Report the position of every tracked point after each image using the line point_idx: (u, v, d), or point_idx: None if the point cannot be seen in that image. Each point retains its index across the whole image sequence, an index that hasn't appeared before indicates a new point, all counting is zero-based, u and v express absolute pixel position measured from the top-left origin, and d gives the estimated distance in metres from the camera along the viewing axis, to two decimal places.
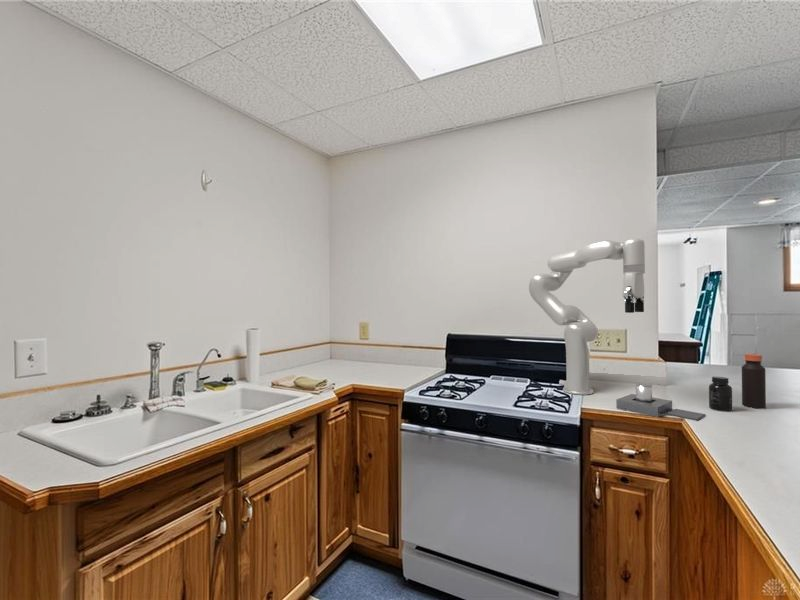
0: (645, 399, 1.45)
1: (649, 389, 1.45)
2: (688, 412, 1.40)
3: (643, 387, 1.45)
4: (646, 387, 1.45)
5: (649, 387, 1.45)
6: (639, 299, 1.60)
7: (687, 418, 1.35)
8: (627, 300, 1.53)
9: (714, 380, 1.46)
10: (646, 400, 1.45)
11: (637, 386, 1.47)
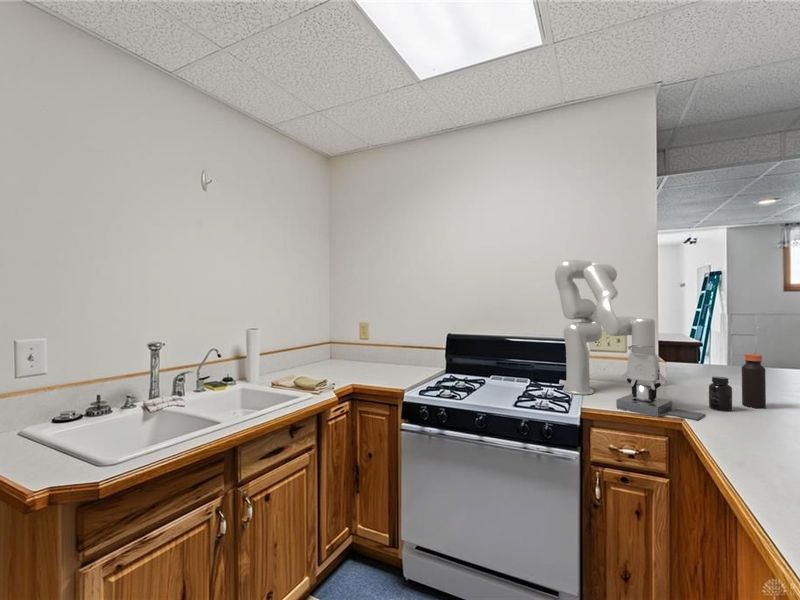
0: (645, 399, 1.45)
1: (649, 389, 1.45)
2: (688, 412, 1.40)
3: (643, 387, 1.45)
4: (646, 387, 1.45)
5: (649, 387, 1.45)
6: None
7: (687, 418, 1.35)
8: (657, 387, 1.43)
9: (714, 380, 1.46)
10: (646, 400, 1.45)
11: (637, 386, 1.47)
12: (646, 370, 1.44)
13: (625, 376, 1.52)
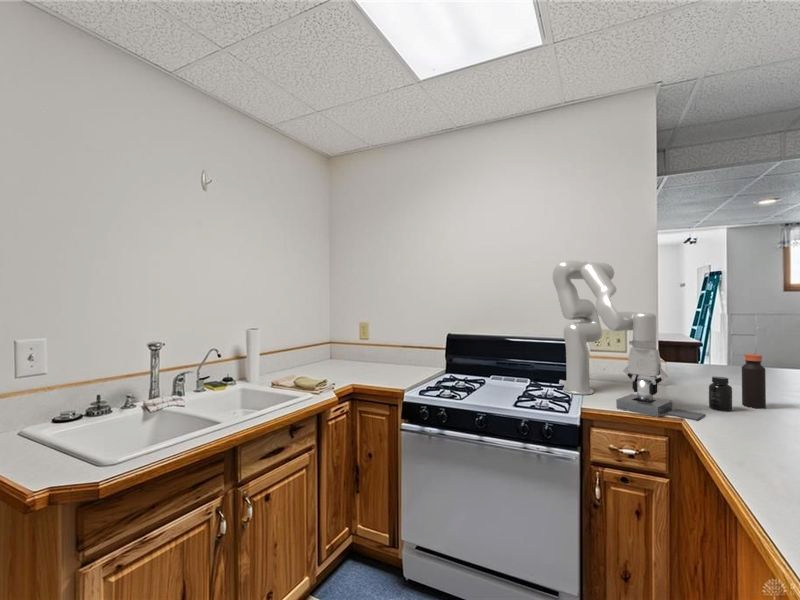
0: (646, 393, 1.44)
1: (650, 384, 1.44)
2: (688, 412, 1.40)
3: (644, 382, 1.45)
4: (647, 382, 1.44)
5: (650, 382, 1.44)
6: None
7: (687, 418, 1.35)
8: (658, 382, 1.43)
9: (714, 380, 1.46)
10: (647, 395, 1.44)
11: (638, 381, 1.47)
12: (647, 365, 1.44)
13: (626, 371, 1.51)
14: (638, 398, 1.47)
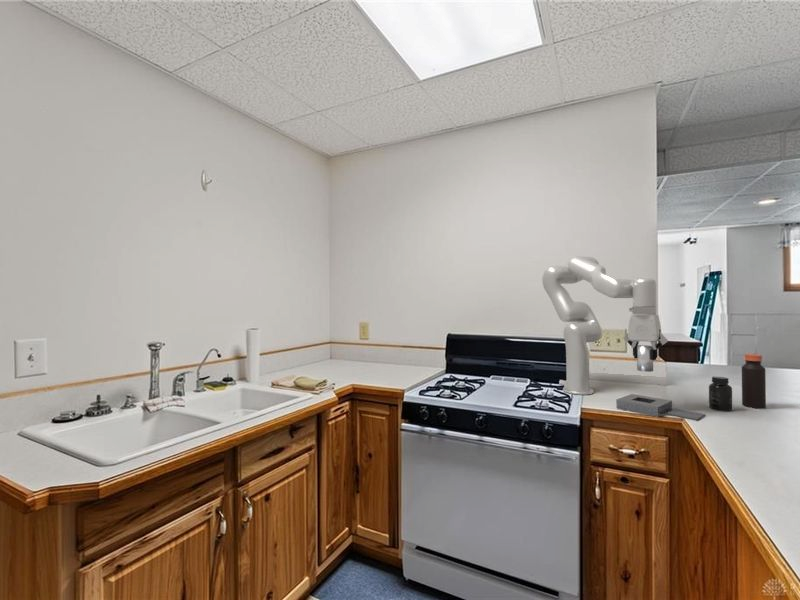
0: (646, 359, 1.44)
1: (650, 349, 1.44)
2: (688, 412, 1.40)
3: (644, 347, 1.45)
4: (647, 347, 1.44)
5: (650, 347, 1.44)
6: None
7: (687, 418, 1.35)
8: (658, 347, 1.43)
9: (714, 380, 1.46)
10: (647, 361, 1.44)
11: (638, 347, 1.47)
12: (647, 330, 1.44)
13: (626, 338, 1.51)
14: (638, 364, 1.47)
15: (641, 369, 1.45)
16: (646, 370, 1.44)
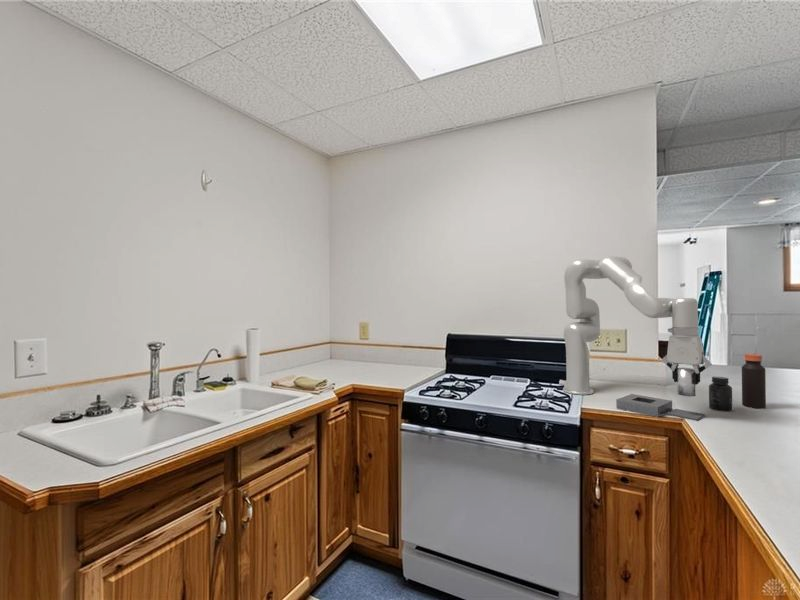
0: (688, 383, 1.36)
1: (692, 373, 1.36)
2: (688, 412, 1.40)
3: (686, 371, 1.37)
4: (689, 371, 1.36)
5: (693, 370, 1.36)
6: None
7: (687, 418, 1.35)
8: (701, 371, 1.35)
9: (714, 380, 1.46)
10: (689, 385, 1.36)
11: (679, 370, 1.39)
12: (689, 353, 1.36)
13: (665, 360, 1.44)
14: (679, 388, 1.39)
15: (682, 394, 1.37)
16: (688, 395, 1.36)
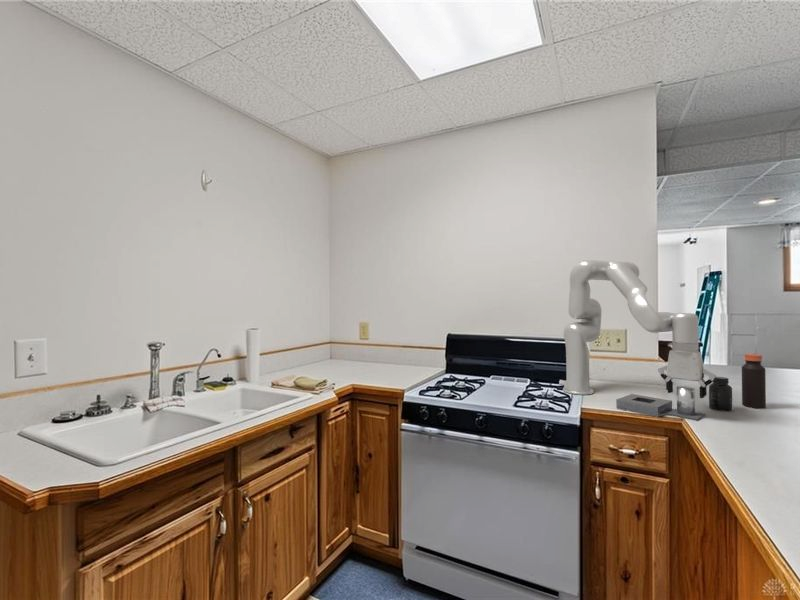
0: (688, 402, 1.37)
1: (692, 392, 1.36)
2: None
3: (685, 390, 1.37)
4: (689, 390, 1.36)
5: (692, 390, 1.36)
6: None
7: (687, 418, 1.35)
8: (708, 384, 1.34)
9: (714, 380, 1.46)
10: (689, 404, 1.36)
11: (678, 389, 1.39)
12: (689, 368, 1.36)
13: (660, 371, 1.45)
14: (679, 407, 1.39)
15: (682, 413, 1.38)
16: (687, 414, 1.37)
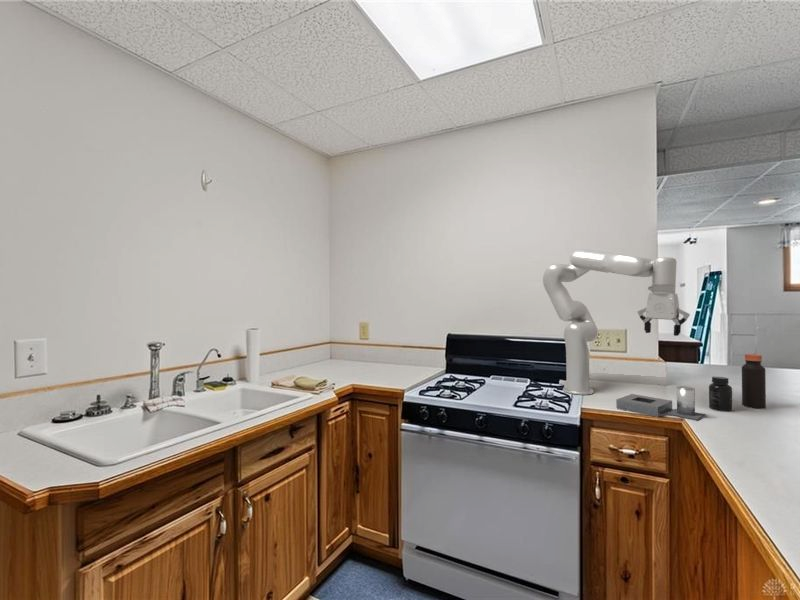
0: (688, 402, 1.37)
1: (692, 392, 1.36)
2: None
3: (685, 390, 1.37)
4: (689, 390, 1.37)
5: (692, 390, 1.37)
6: None
7: (687, 418, 1.35)
8: (682, 323, 1.44)
9: (714, 380, 1.46)
10: (689, 404, 1.36)
11: (679, 389, 1.39)
12: (665, 308, 1.46)
13: (640, 313, 1.55)
14: (679, 407, 1.39)
15: (682, 413, 1.38)
16: (687, 414, 1.37)
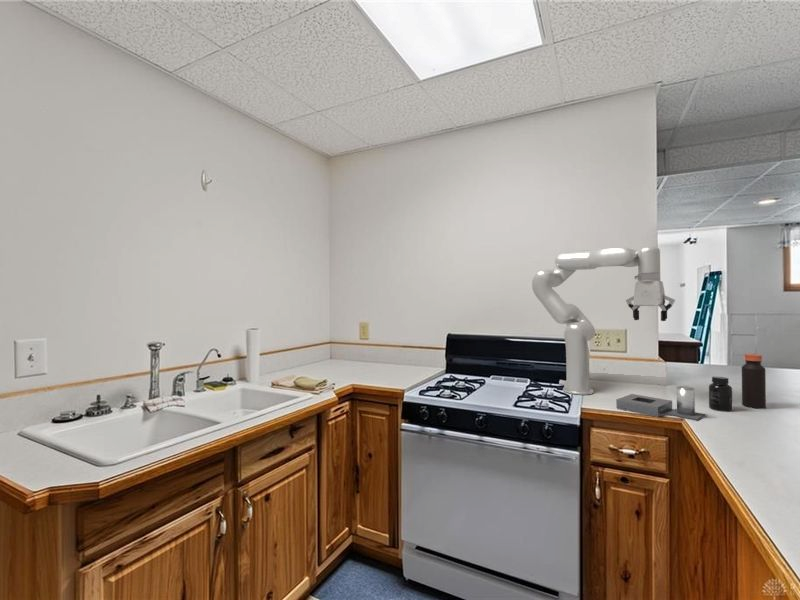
0: (687, 402, 1.37)
1: (692, 392, 1.37)
2: None
3: (685, 390, 1.37)
4: (688, 390, 1.37)
5: (692, 390, 1.37)
6: None
7: (687, 418, 1.35)
8: (668, 308, 1.51)
9: (714, 380, 1.46)
10: (689, 404, 1.37)
11: (678, 389, 1.39)
12: (652, 295, 1.53)
13: (628, 301, 1.62)
14: (679, 407, 1.39)
15: (682, 413, 1.38)
16: (687, 414, 1.37)
